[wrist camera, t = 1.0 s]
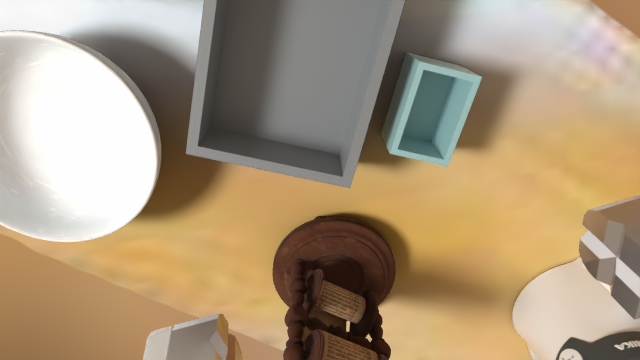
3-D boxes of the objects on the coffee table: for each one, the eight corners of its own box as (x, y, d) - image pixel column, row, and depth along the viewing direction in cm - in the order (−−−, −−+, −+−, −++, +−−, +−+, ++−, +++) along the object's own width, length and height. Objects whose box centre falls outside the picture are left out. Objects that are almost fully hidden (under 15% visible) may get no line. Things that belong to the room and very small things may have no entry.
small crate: (461, 65, 45) (482, 76, 39) (432, 146, 48) (447, 166, 43) (406, 51, 44) (419, 61, 39) (380, 134, 48) (389, 153, 42)
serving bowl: (166, 227, 52) (146, 260, 46) (-19, 189, 50) (-67, 219, 43) (189, 54, 44) (168, 65, 38) (-31, -2, 42) (-92, 1, 35)
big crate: (402, -42, 41) (418, -47, 34) (345, 161, 49) (350, 188, 43) (231, -89, 39) (216, -103, 32) (202, 130, 47) (185, 153, 41)
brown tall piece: (254, 282, 56) (226, 427, 37) (308, 190, 50) (306, 307, 32) (354, 323, 59) (373, 476, 40) (414, 241, 53) (468, 373, 35)
